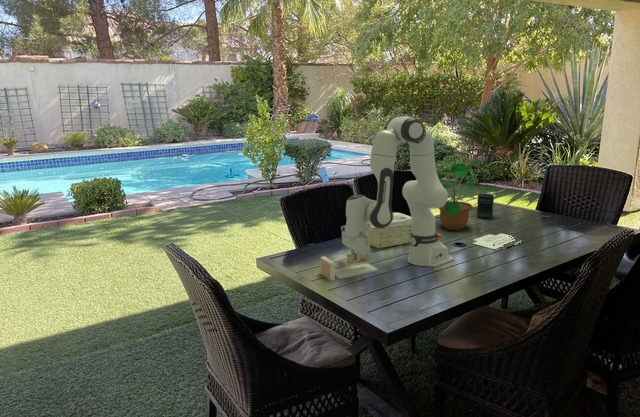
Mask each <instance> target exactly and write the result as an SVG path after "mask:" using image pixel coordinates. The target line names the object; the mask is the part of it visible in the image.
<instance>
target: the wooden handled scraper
mask: <svg viewBox="0 0 640 417" xmlns="http://www.w3.org/2000/svg"><path fill="white" fill-rule="evenodd" d="M356 256H357V252H355V253H354V254H351V253H350V254H349V253H348V254H346V260H341V261H337V262H335V261H334V263H335V269H341V268H346V267H351V266H352V265H355V264H359V263H365V262H369V255H365V256H363V255H361V260H360V261H357V260H356Z"/></svg>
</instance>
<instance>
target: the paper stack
mask: <svg viewBox="0 0 640 417" xmlns="http://www.w3.org/2000/svg"><path fill="white" fill-rule="evenodd" d="M509 236H510V237H509ZM512 236H513V235H510V234H506V233H503V232H502V233H499V234H496V235H495V234H490V233H488V234H486V235H483V236H480V237H477V238H474V239H473V241H474V242H472V243H471V244H473V245H477V246H480V247H484V248H489V249H492V250H494V249H496V250H498V249H500V248H499V247H502V246H503V245H504V244H507V243H509V242H512V241H515V239H513V238H514V237H512ZM511 237H512V238H511ZM512 239H513V240H512ZM521 242H522V240H520V241H518V242H516V243H515V244H514V245H515V246H517V245H519V243H520V244H522V243H521ZM493 244H494V245H495V246H493ZM503 247H504V246H503ZM497 248H498V249H497Z"/></svg>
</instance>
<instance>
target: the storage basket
mask: <svg viewBox="0 0 640 417" xmlns="http://www.w3.org/2000/svg"><path fill="white" fill-rule="evenodd" d="M411 232H412V218H411V215H407V214H405V213H401V212H393V220H392V222H391V223H390V225H388V226H387V227H385V228H376V227H375V226H374V225H373V224H372V223H371V222H370V221H367V222H366V234H365V235H366V236H367V238H368V239H369V242H370V246H371V247H374V248H377V249H383V248H388V247H389V248H390V247H393V246H400V245H404V244H406V245H407V244H409V243H410V244H411V240H410V237H411Z"/></svg>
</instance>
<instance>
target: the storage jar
mask: <svg viewBox="0 0 640 417" xmlns="http://www.w3.org/2000/svg"><path fill="white" fill-rule="evenodd" d="M494 197H495V196H494V194H491V193H479V194H477V200H476V201H477V202H476V203H477V208H476V219H478V220H483V221H487V220H488V221H489V220H493V216H494V215H493V214H494V210H493V208H494V200H495V199H494Z"/></svg>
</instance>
